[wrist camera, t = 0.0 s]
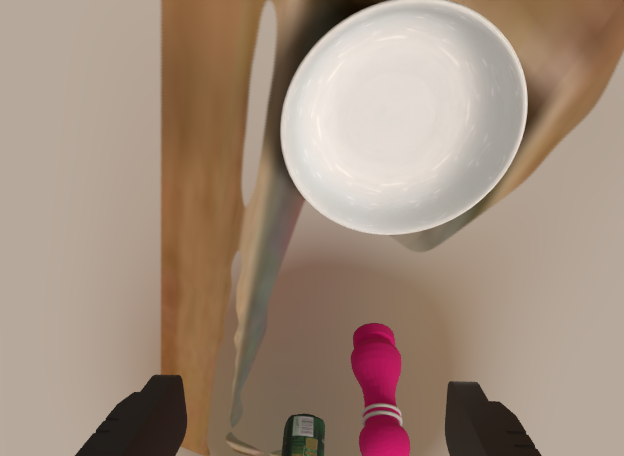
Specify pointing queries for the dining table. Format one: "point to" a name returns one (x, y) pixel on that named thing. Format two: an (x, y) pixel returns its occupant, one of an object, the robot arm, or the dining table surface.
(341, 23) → the serving bowl
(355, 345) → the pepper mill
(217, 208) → the dining table surface
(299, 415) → the green labelled bottle
